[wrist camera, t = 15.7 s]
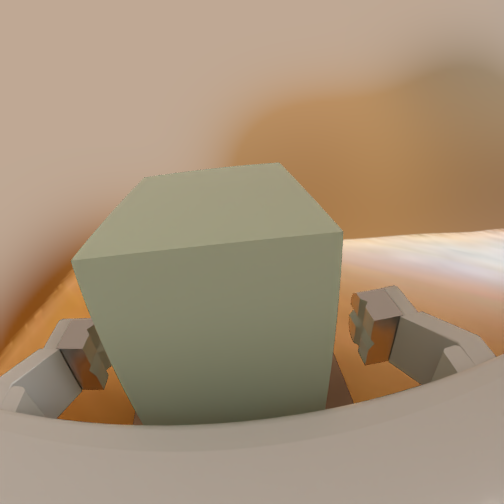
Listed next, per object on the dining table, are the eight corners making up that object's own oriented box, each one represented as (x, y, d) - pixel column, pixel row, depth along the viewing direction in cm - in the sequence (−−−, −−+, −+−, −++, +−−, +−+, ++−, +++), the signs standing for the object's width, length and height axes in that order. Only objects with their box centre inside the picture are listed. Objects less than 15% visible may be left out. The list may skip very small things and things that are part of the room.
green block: (192, 385, 15) (144, 177, 10) (285, 376, 15) (279, 162, 10) (189, 496, 9) (71, 260, 5) (310, 485, 9) (343, 231, 5)
